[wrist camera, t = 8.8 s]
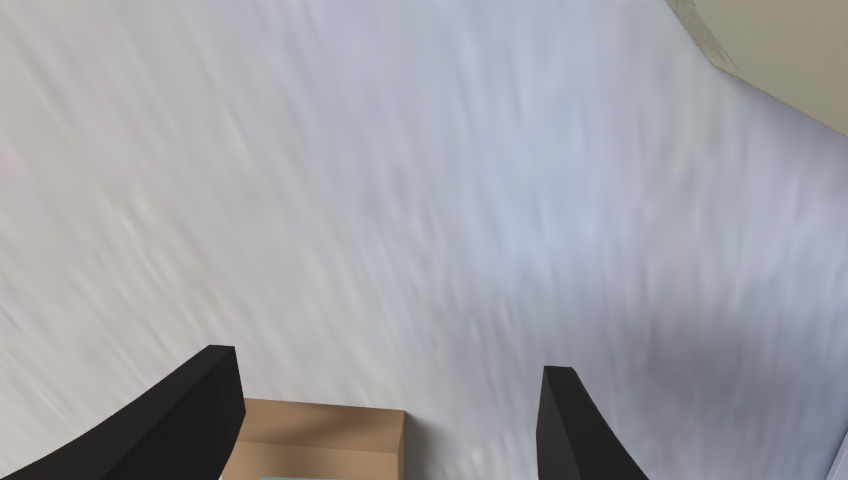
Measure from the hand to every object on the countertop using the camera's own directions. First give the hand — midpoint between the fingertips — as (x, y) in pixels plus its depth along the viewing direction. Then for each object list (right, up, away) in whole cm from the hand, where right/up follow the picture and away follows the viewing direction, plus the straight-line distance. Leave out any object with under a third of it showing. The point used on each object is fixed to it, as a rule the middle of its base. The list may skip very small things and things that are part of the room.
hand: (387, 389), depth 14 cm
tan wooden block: (-4, -8, +16) cm, 18 cm away
